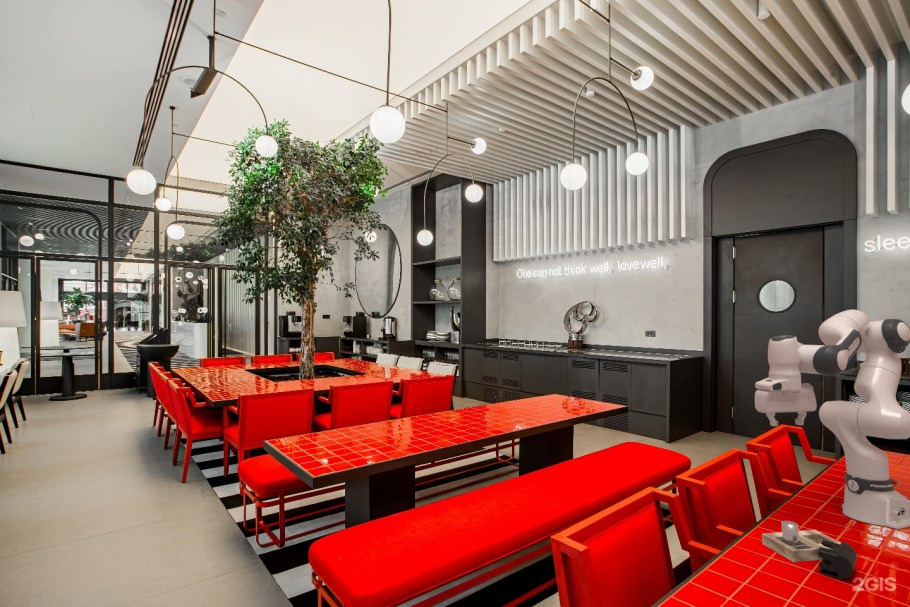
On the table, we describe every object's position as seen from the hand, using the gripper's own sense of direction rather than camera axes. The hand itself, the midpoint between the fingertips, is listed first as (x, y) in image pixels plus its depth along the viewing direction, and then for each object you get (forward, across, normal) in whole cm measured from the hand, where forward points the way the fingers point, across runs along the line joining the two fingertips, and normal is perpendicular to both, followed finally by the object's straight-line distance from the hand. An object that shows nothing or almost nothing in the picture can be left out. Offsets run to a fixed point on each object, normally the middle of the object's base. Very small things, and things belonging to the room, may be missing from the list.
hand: (786, 425), depth 154 cm
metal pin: (+33, +14, +15) cm, 39 cm away
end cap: (+33, +12, +27) cm, 44 cm away
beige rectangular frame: (+33, +10, +15) cm, 38 cm away
